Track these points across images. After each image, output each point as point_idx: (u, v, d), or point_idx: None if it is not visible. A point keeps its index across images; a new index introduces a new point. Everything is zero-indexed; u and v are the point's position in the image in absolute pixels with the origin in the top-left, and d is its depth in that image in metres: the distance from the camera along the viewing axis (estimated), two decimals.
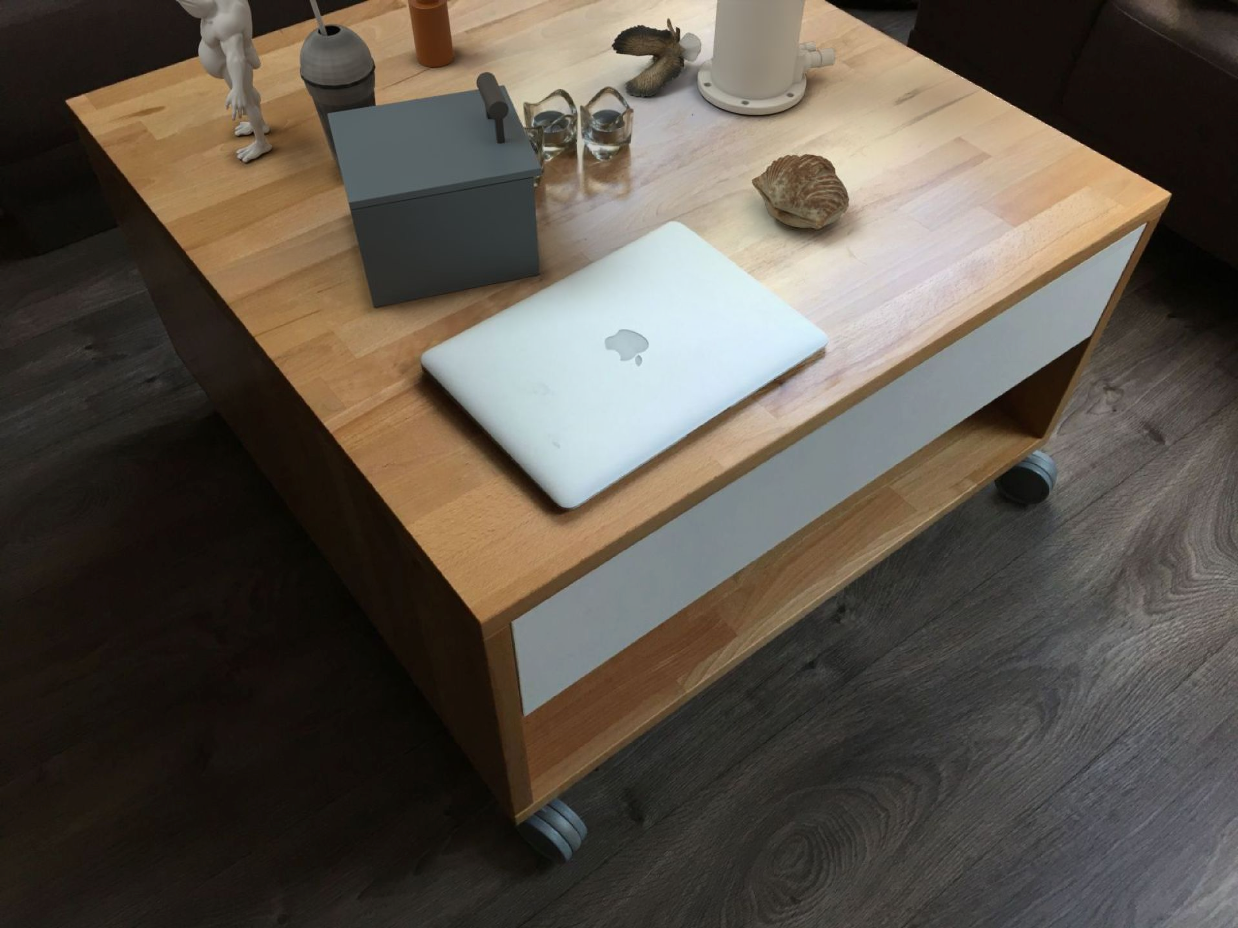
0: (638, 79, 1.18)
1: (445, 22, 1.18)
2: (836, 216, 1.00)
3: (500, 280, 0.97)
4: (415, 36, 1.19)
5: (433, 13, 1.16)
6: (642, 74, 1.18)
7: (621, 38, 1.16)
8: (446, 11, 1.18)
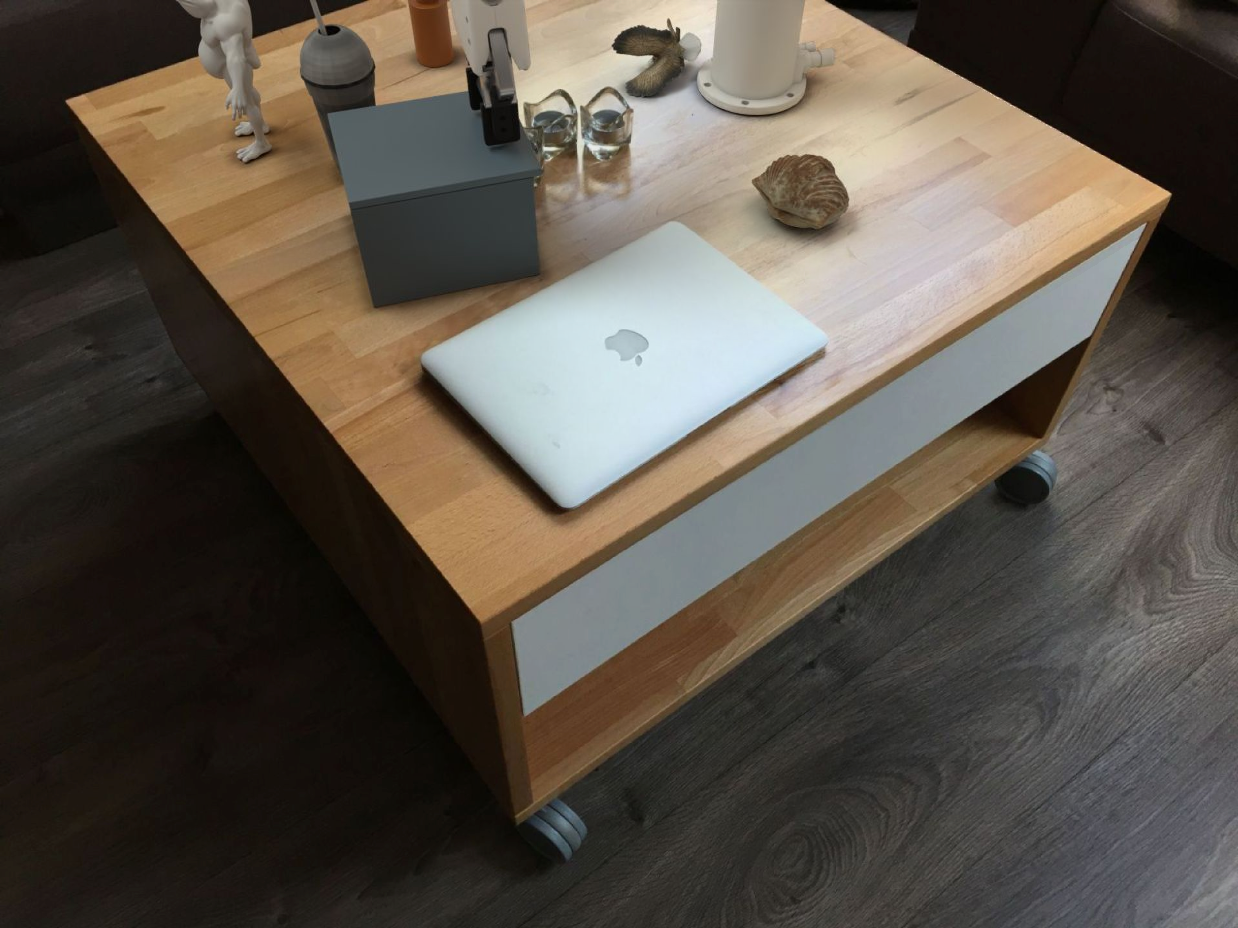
0: (638, 79, 1.18)
1: (445, 22, 1.18)
2: (836, 216, 1.00)
3: (500, 280, 0.97)
4: (415, 36, 1.19)
5: (433, 13, 1.16)
6: (642, 74, 1.18)
7: (621, 38, 1.16)
8: (446, 11, 1.18)
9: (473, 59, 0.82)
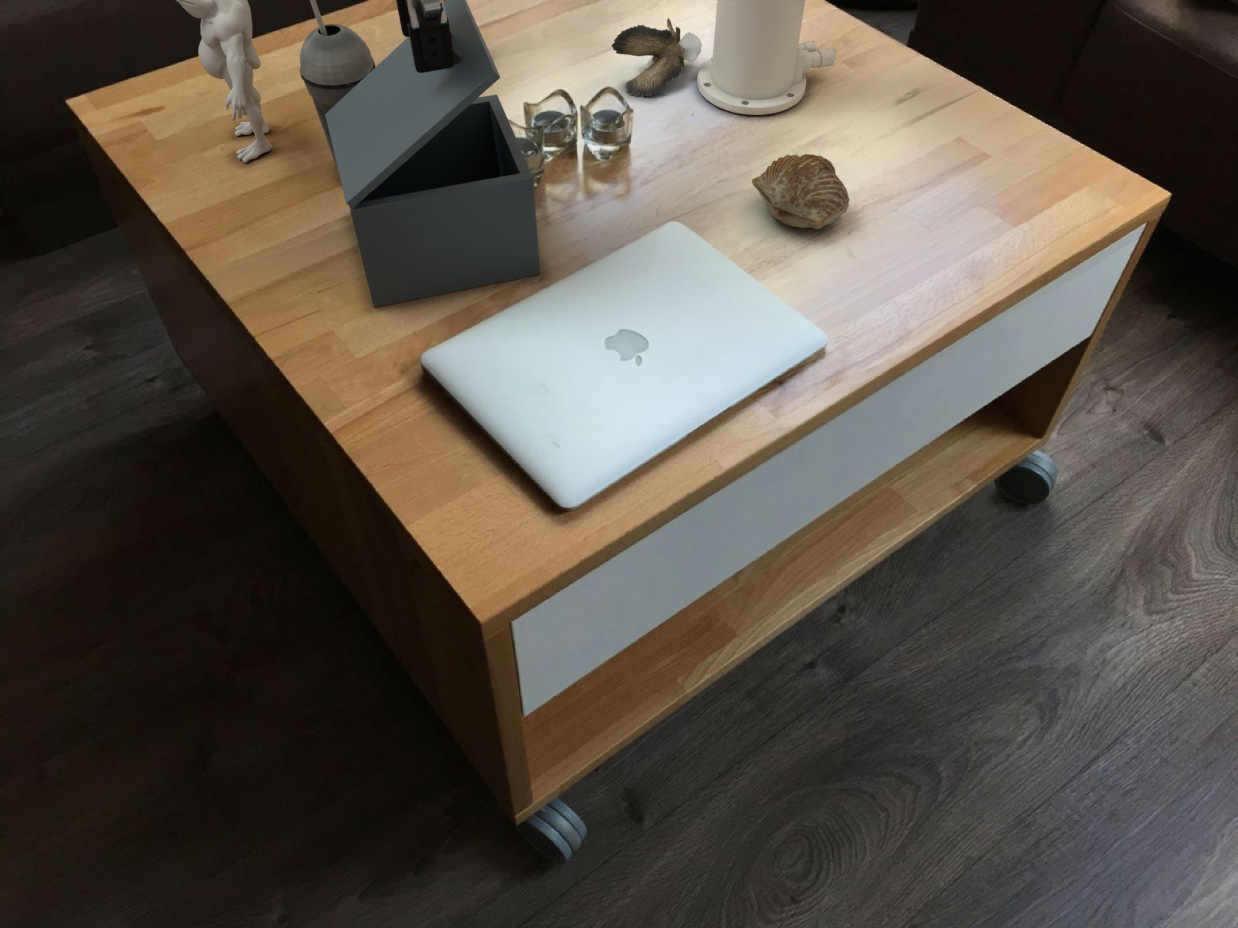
0: (638, 79, 1.18)
1: None
2: (836, 216, 1.00)
3: (500, 280, 0.97)
4: None
5: None
6: (642, 74, 1.18)
7: (621, 38, 1.16)
8: None
9: None
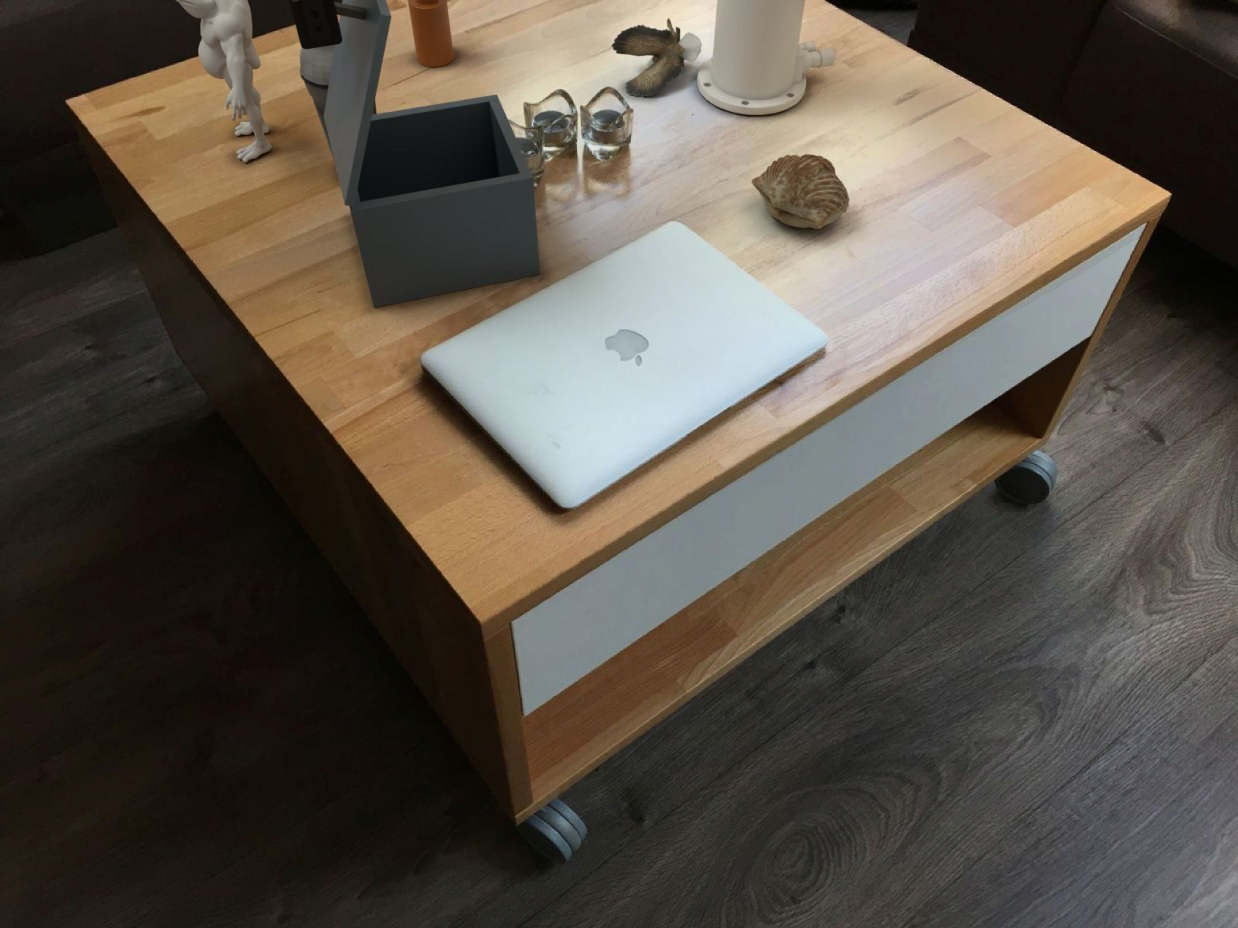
0: (638, 79, 1.18)
1: (445, 22, 1.18)
2: (836, 216, 1.00)
3: (500, 280, 0.97)
4: (415, 36, 1.19)
5: (433, 13, 1.16)
6: (642, 74, 1.18)
7: (621, 38, 1.16)
8: (446, 11, 1.18)
9: None
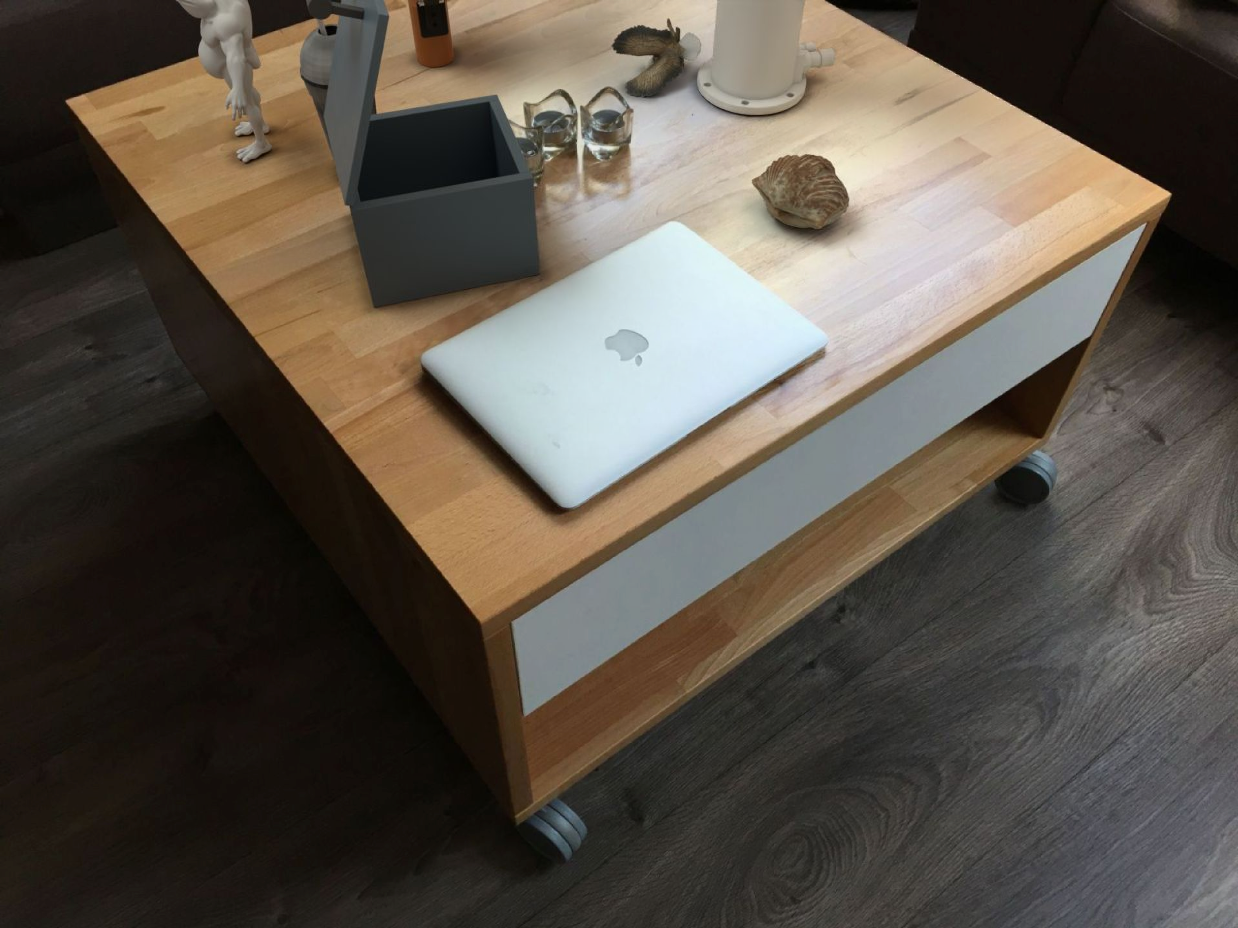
0: (638, 79, 1.18)
1: None
2: (836, 216, 1.00)
3: (500, 280, 0.97)
4: (415, 36, 1.19)
5: None
6: (642, 74, 1.18)
7: (621, 38, 1.16)
8: (446, 11, 1.18)
9: None
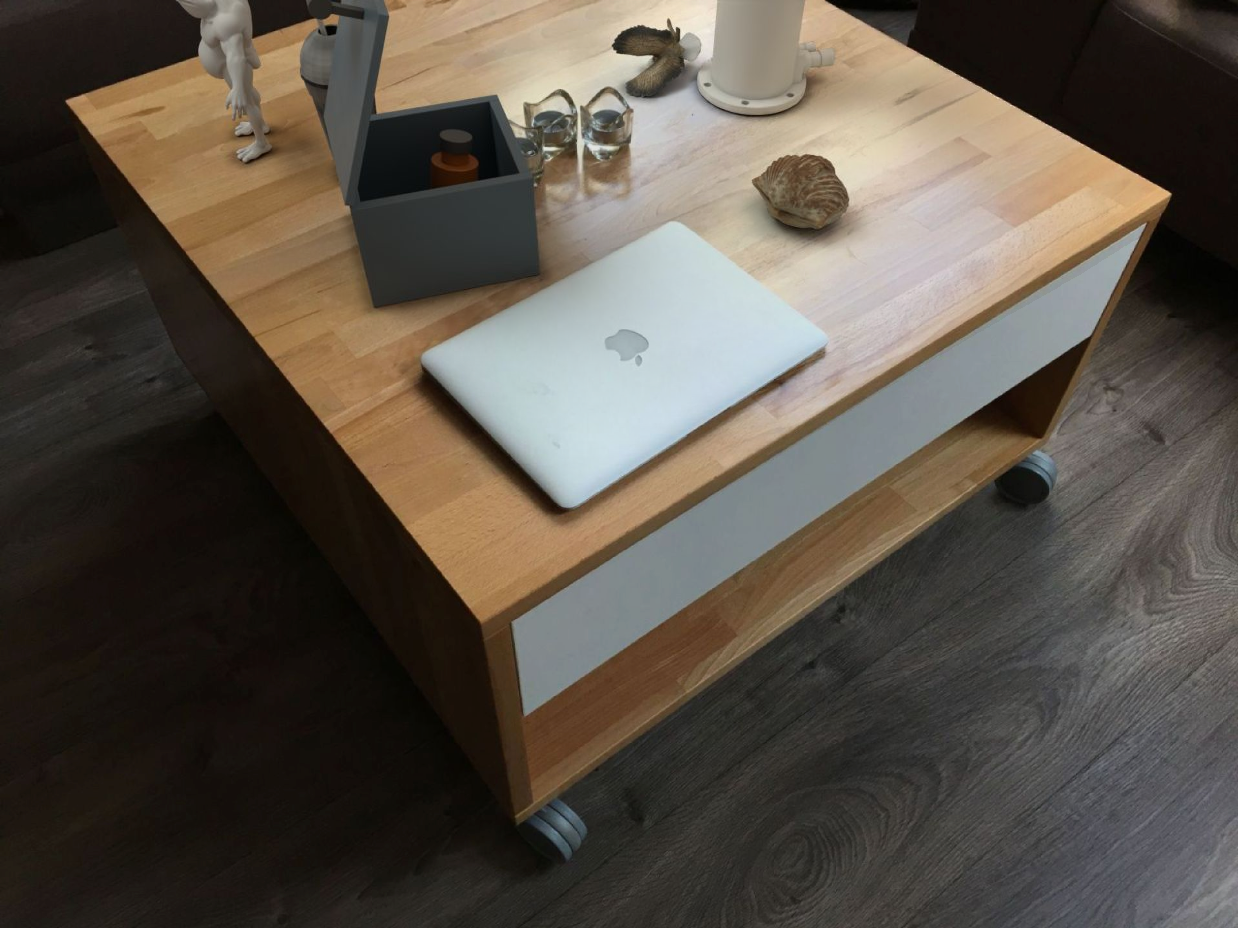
0: (638, 79, 1.18)
1: None
2: (836, 216, 1.00)
3: (500, 280, 0.97)
4: None
5: (454, 176, 0.94)
6: (642, 74, 1.18)
7: (621, 38, 1.16)
8: (473, 180, 0.95)
9: None
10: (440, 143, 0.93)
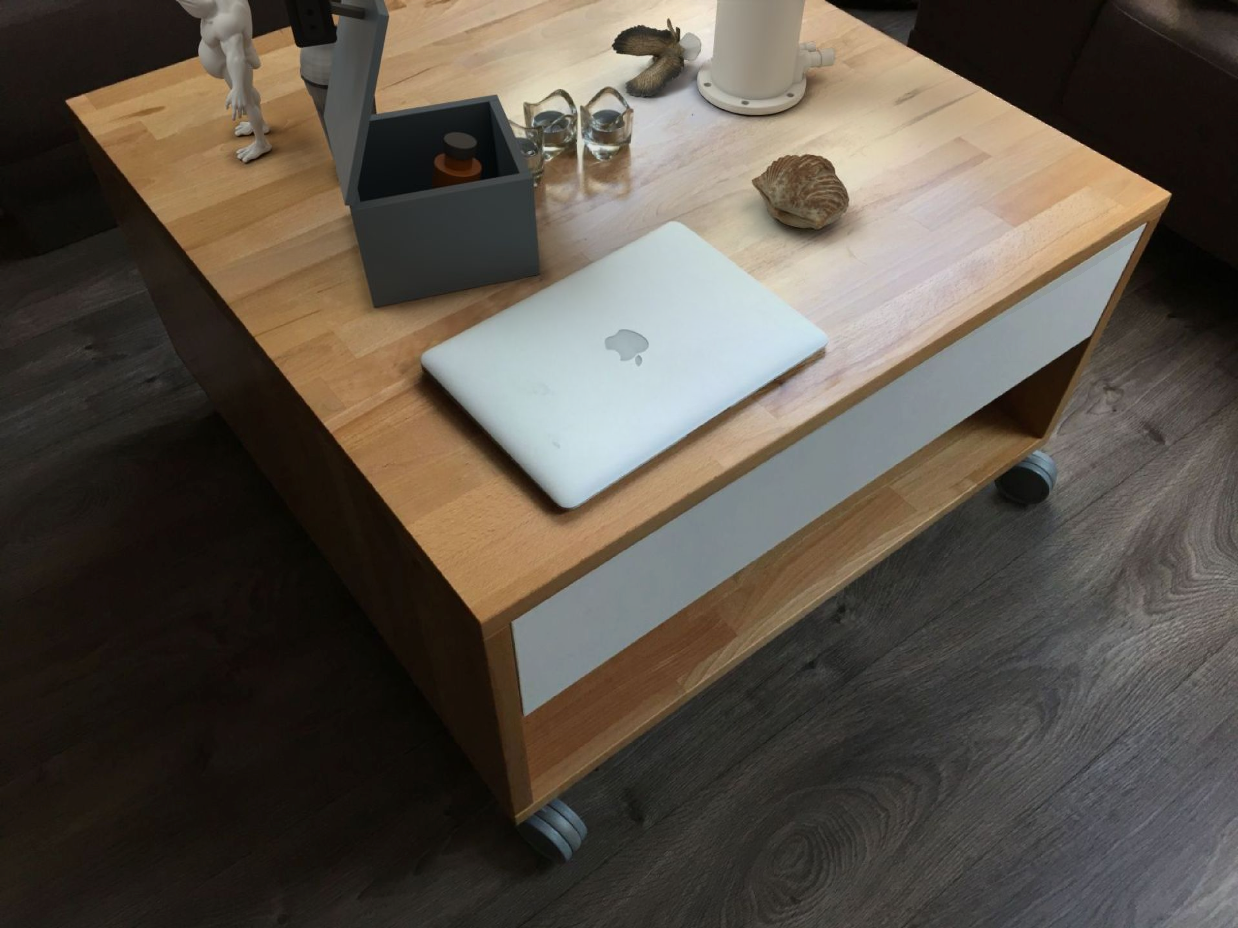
0: (638, 79, 1.18)
1: None
2: (836, 216, 1.00)
3: (500, 280, 0.97)
4: None
5: (449, 180, 0.94)
6: (642, 74, 1.18)
7: (621, 38, 1.16)
8: None
9: None
10: (443, 144, 0.93)
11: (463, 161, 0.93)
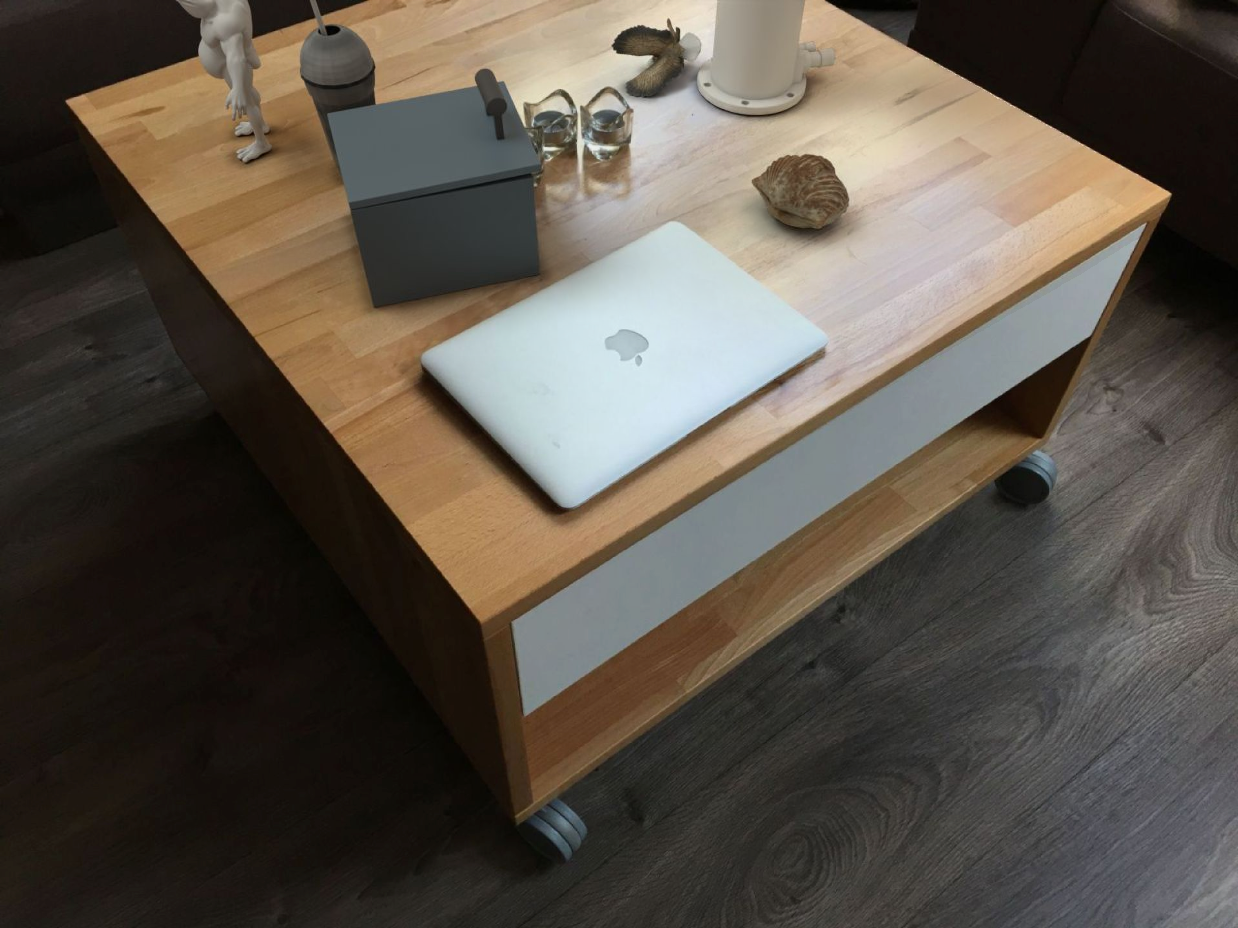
0: (638, 79, 1.18)
1: None
2: (836, 216, 1.00)
3: (500, 280, 0.97)
4: None
5: None
6: (642, 74, 1.18)
7: (621, 38, 1.16)
8: None
9: None
10: None
11: None
